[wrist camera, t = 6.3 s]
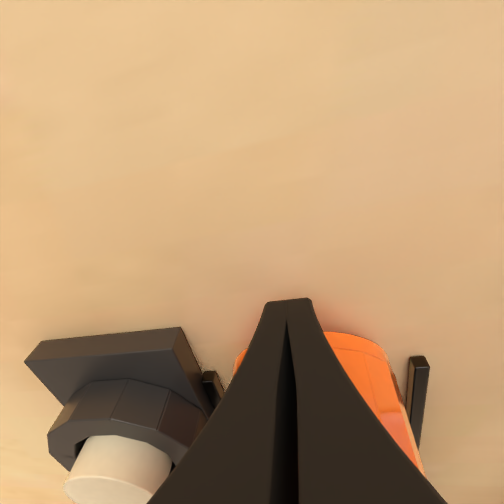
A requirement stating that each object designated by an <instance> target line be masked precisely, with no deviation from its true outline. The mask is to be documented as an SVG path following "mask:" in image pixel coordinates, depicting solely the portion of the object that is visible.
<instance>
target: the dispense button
mask: <svg viewBox="0 0 504 504" xmlns="http://www.w3.org/2000/svg"><path fill="white" fill-rule="evenodd" d="M171 466H172V460H171V458H170V457H169V456H168V454H166V453H164V452H163V451H161V450H159V449H157V448H155V447H154V446H152V445H150V444H148V443H146V442H142V441H138V440H134V439H129V438H125V437H121V436H117V435H106V436H90V437H89V438H88V439H87V440H86V442H85V444H84V446H83V448H82V450H81V452H80V453H79V455H78V457H77V459H76V461H75V463H74V465H73V467H72V469H71V471H70V473H69V475H68V477H67V479H66V481H65V483H64V486H63V490H64V492H65V494H66V495H67V496H68V497H69V498H70V499H71V500H72V501H74V502H75V503H77V504H146V503H147V502H148V501H149V500H150V498H151V497H152V496H153V495H154V493H155V492H156V491H157V490H158V488H159V487H160V486H161V485H162V483H163V482H164V481H165V480H166V478H167V477H168V476H169V473H170V470H171Z"/></svg>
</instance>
